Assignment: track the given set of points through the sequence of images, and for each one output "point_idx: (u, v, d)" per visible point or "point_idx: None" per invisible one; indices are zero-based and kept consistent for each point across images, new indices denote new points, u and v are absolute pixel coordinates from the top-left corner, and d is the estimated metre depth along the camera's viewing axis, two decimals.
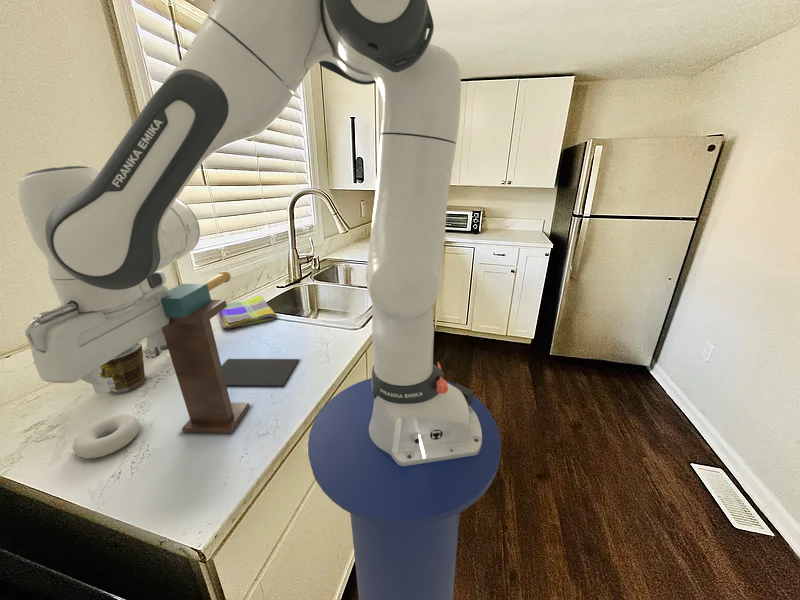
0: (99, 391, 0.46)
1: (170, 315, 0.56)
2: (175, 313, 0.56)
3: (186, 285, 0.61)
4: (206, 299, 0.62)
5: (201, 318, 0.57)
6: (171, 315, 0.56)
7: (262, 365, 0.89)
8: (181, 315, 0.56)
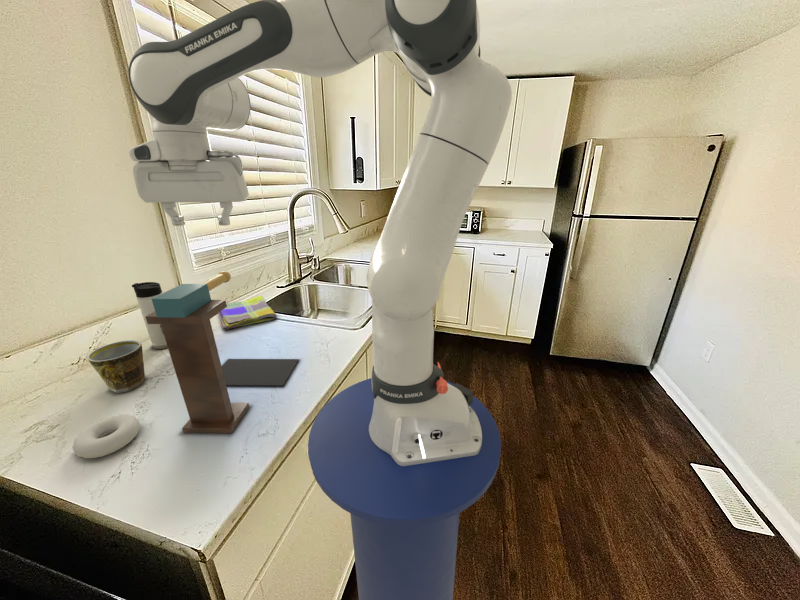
0: (227, 222, 0.66)
1: (170, 315, 0.56)
2: (175, 313, 0.56)
3: (186, 285, 0.61)
4: (206, 299, 0.62)
5: (201, 318, 0.57)
6: (171, 315, 0.56)
7: (262, 365, 0.89)
8: (181, 315, 0.56)
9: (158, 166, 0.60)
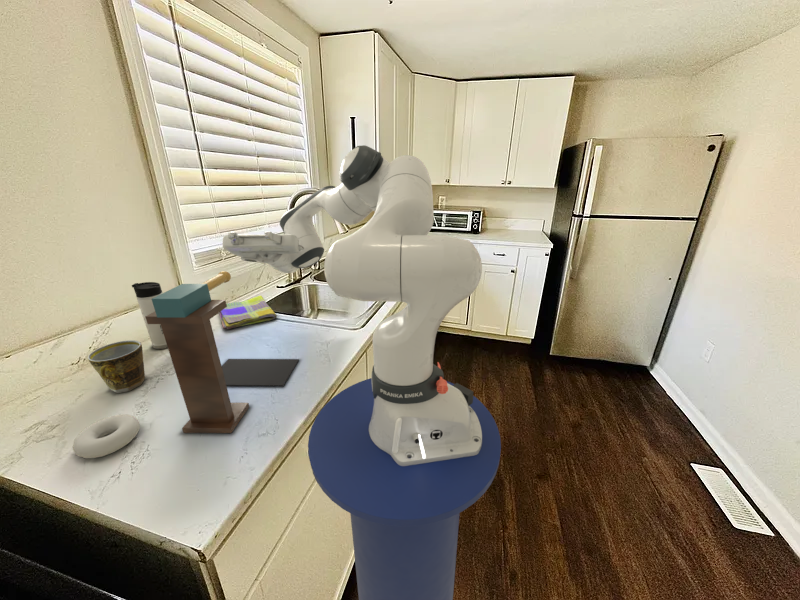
0: (270, 234, 0.84)
1: (170, 315, 0.56)
2: (175, 313, 0.56)
3: (186, 285, 0.61)
4: (206, 299, 0.62)
5: (201, 318, 0.57)
6: (171, 315, 0.56)
7: (262, 365, 0.89)
8: (181, 315, 0.56)
9: None
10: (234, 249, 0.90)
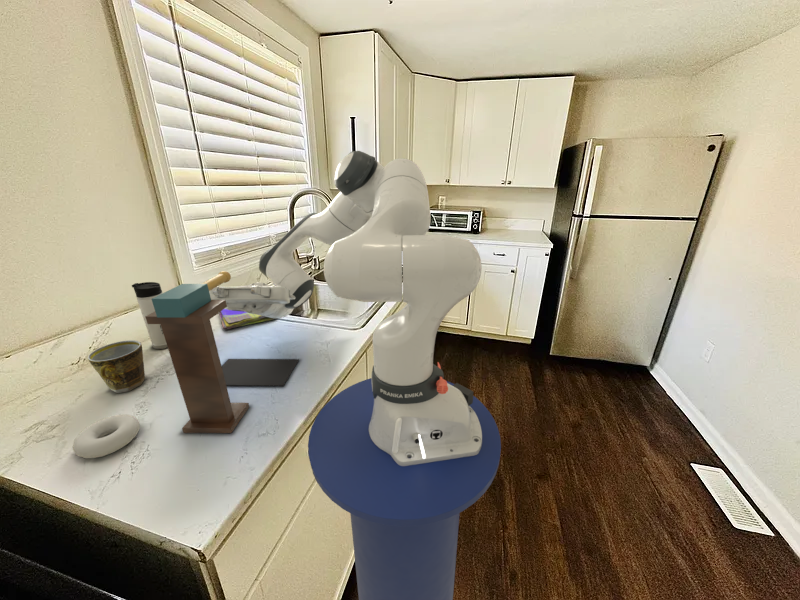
0: (257, 289, 0.76)
1: (170, 315, 0.56)
2: (175, 313, 0.56)
3: (186, 285, 0.61)
4: (206, 299, 0.62)
5: (201, 318, 0.57)
6: (171, 315, 0.56)
7: (262, 365, 0.89)
8: (181, 315, 0.56)
9: (242, 287, 0.88)
10: None
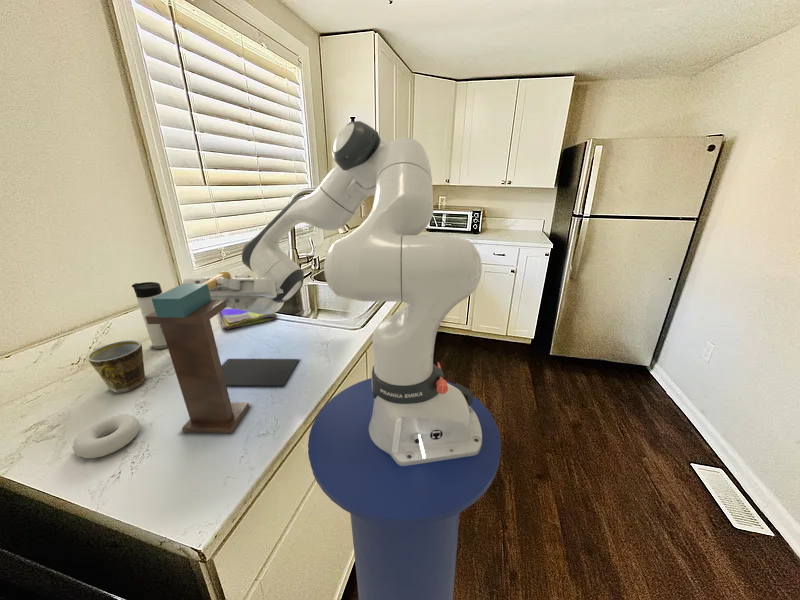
0: (224, 280, 0.68)
1: (170, 315, 0.56)
2: (176, 313, 0.56)
3: (186, 285, 0.61)
4: (206, 299, 0.62)
5: (201, 318, 0.57)
6: (171, 315, 0.56)
7: (262, 365, 0.89)
8: (181, 315, 0.56)
9: None
10: None
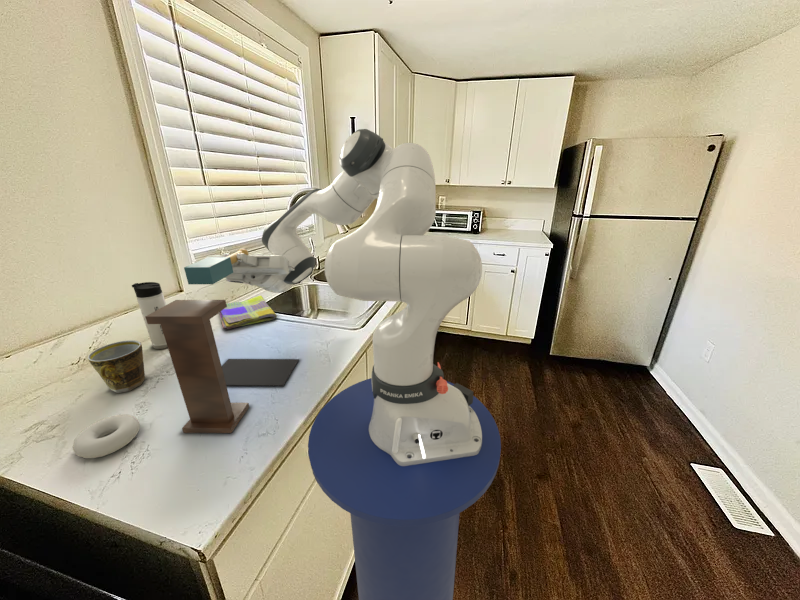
0: (243, 256, 0.76)
1: (200, 282, 0.64)
2: (205, 280, 0.64)
3: (212, 258, 0.69)
4: (229, 270, 0.70)
5: (201, 318, 0.57)
6: (200, 282, 0.64)
7: (262, 365, 0.89)
8: (209, 282, 0.64)
9: None
10: None
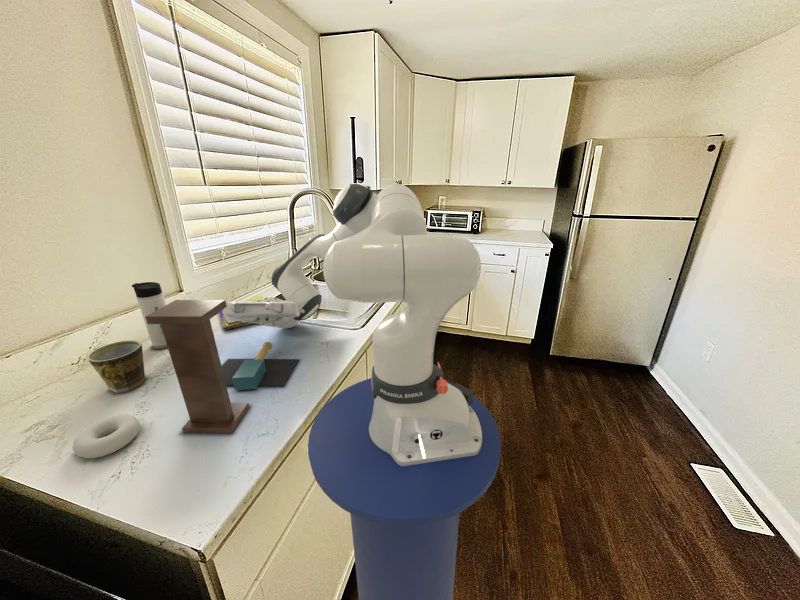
0: (271, 305, 0.84)
1: (245, 388, 0.78)
2: (249, 386, 0.78)
3: (249, 361, 0.84)
4: (264, 370, 0.84)
5: (201, 318, 0.57)
6: (245, 388, 0.78)
7: None
8: (253, 387, 0.78)
9: (256, 301, 0.95)
10: (235, 315, 0.90)
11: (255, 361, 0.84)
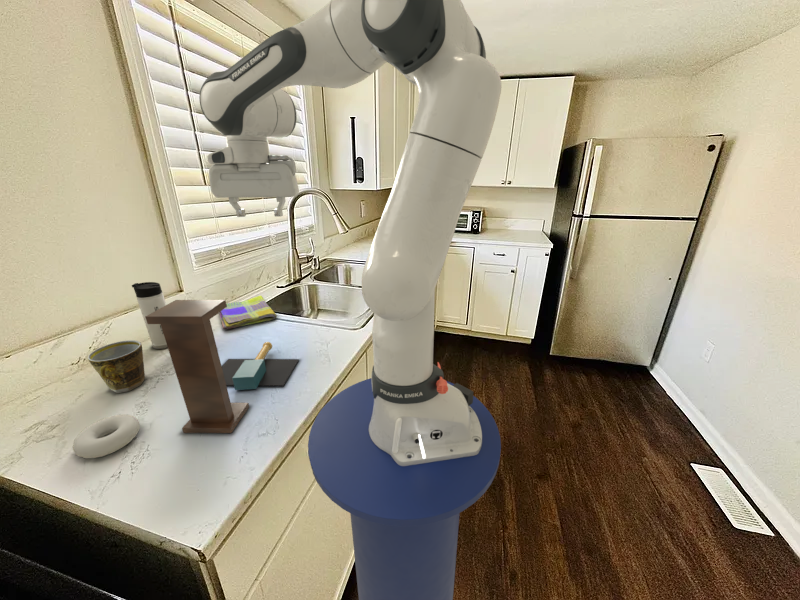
0: (281, 214, 0.80)
1: (245, 388, 0.78)
2: (249, 386, 0.78)
3: (249, 361, 0.84)
4: (264, 370, 0.84)
5: (201, 318, 0.57)
6: (245, 388, 0.78)
7: None
8: (253, 387, 0.78)
9: (230, 168, 0.74)
10: None
11: (255, 361, 0.84)
